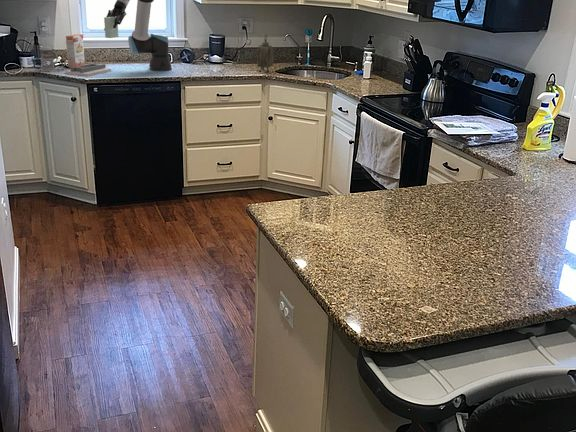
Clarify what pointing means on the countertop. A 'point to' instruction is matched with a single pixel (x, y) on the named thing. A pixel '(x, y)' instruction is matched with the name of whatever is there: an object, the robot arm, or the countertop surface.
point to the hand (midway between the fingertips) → (108, 31)
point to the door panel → (108, 24)
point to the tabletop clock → (265, 55)
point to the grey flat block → (88, 69)
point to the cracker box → (75, 50)
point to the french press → (44, 58)
